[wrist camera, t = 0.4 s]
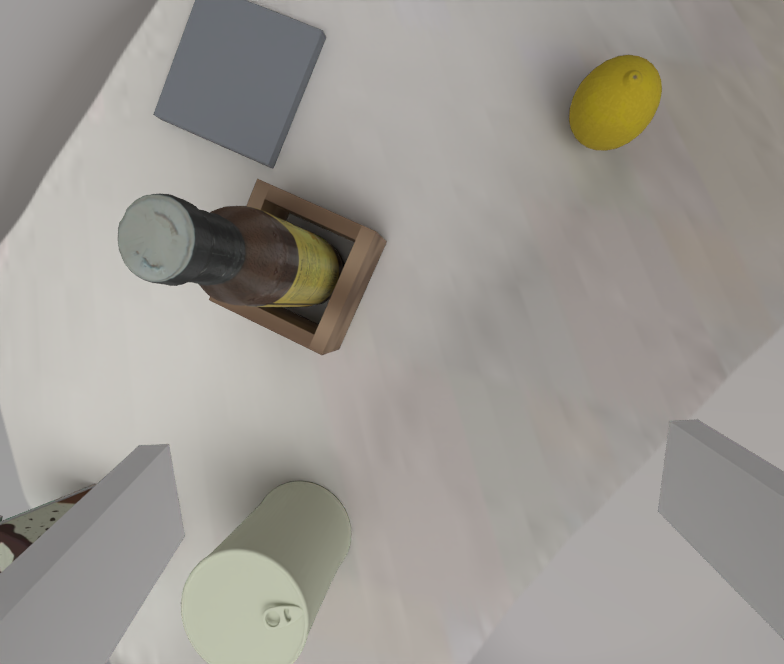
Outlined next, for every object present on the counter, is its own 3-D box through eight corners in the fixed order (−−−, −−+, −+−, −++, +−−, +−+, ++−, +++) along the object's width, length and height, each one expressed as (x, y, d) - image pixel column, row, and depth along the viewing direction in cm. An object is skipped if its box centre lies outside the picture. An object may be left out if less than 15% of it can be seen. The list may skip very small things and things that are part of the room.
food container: (66, 532, 44) (-46, 596, 34) (83, 478, 44) (-27, 527, 34) (171, 583, 43) (85, 666, 33) (190, 527, 42) (108, 594, 32)
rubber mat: (208, -9, 39) (201, -17, 38) (325, 37, 38) (322, 30, 37) (160, 119, 40) (153, 114, 39) (273, 168, 39) (268, 164, 38)
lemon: (545, 145, 35) (571, 97, 27) (582, 81, 35) (619, 14, 27) (606, 176, 35) (651, 137, 27) (646, 113, 34) (702, 54, 26)
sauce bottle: (334, 227, 38) (204, 141, 19) (354, 295, 38) (246, 280, 19) (268, 250, 39) (80, 191, 20) (288, 316, 39) (120, 323, 20)
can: (360, 573, 40) (318, 685, 28) (266, 581, 41) (189, 691, 29) (341, 474, 39) (291, 546, 28) (248, 486, 41) (163, 559, 29)
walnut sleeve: (282, 195, 39) (257, 178, 34) (386, 241, 38) (376, 231, 33) (239, 301, 40) (208, 299, 35) (339, 349, 39) (321, 355, 34)
